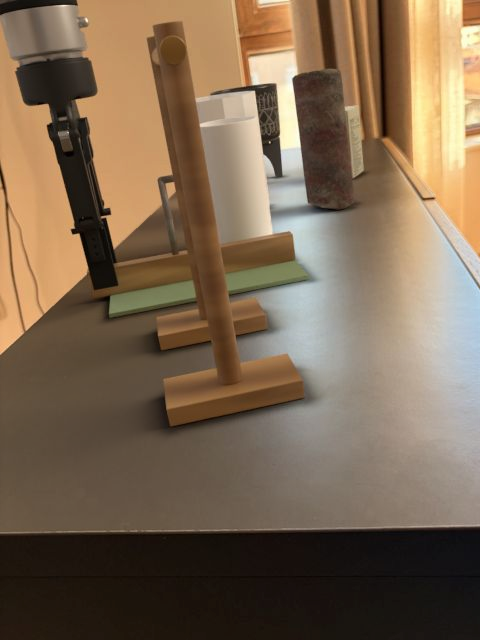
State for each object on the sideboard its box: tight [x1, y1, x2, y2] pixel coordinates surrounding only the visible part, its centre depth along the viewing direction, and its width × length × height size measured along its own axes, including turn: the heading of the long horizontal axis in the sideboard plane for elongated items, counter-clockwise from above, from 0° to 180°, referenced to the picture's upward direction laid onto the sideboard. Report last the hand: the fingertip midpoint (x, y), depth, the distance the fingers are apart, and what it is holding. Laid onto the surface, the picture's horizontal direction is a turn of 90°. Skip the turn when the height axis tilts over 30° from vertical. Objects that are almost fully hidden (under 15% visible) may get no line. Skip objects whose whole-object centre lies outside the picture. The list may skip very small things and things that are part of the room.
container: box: [195, 91, 271, 207], centre depth 104 cm, size 14×14×18 cm
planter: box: [209, 82, 283, 178], centre depth 126 cm, size 13×13×18 cm
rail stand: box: [146, 20, 306, 427], centre depth 50 cm, size 19×10×26 cm, turn 11°
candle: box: [291, 68, 355, 211], centre depth 97 cm, size 8×7×20 cm
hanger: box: [86, 174, 297, 299], centre depth 73 cm, size 2×24×12 cm, turn 101°
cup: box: [200, 116, 274, 244], centre depth 85 cm, size 8×8×16 cm
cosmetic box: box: [344, 104, 365, 179], centre depth 119 cm, size 6×4×12 cm
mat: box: [108, 260, 310, 319], centre depth 76 cm, size 14×22×1 cm, turn 101°
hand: (106, 279), depth 74 cm, fingers open, 4 cm apart
